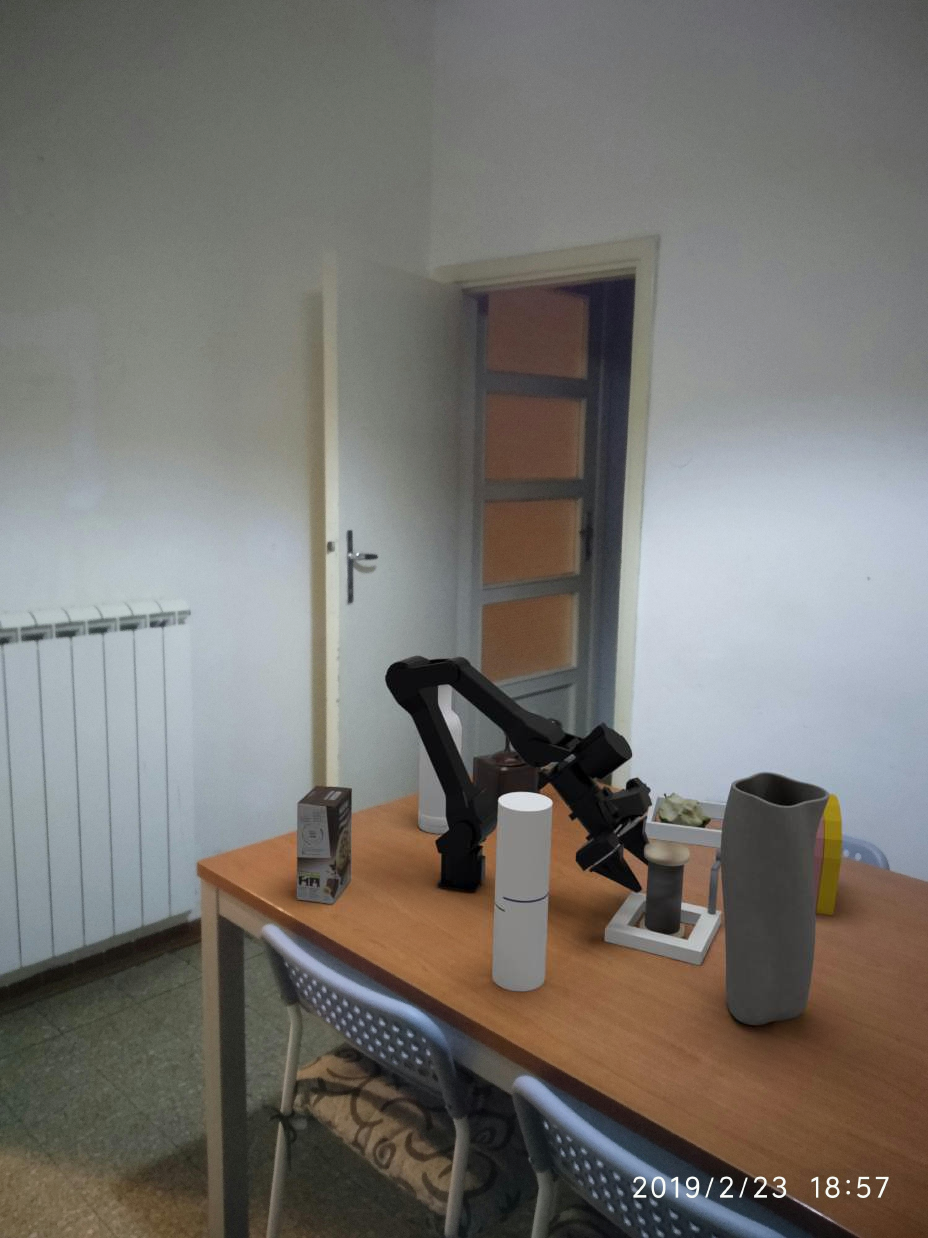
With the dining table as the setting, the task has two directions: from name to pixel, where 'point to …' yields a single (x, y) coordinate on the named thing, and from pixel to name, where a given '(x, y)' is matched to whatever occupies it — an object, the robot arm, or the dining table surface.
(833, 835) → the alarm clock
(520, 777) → the coffee grinder
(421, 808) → the bottle
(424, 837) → the dining table surface
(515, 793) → the cylindrical container
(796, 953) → the vase
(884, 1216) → the dining table surface
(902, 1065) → the dining table surface
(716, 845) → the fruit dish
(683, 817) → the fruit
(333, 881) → the coffee box
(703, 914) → the rectangular frame
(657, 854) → the disc
